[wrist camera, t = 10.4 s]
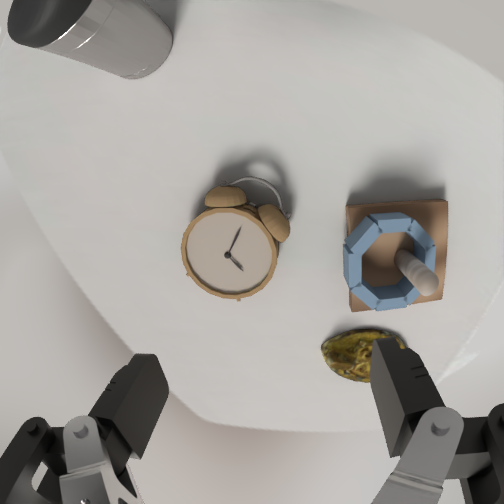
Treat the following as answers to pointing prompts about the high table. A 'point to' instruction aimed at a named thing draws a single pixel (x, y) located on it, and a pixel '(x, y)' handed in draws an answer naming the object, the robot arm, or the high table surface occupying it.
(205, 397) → the high table surface
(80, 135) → the high table surface
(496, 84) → the high table surface
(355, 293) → the rubber loop
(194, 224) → the alarm clock
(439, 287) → the wooden peg stand
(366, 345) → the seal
